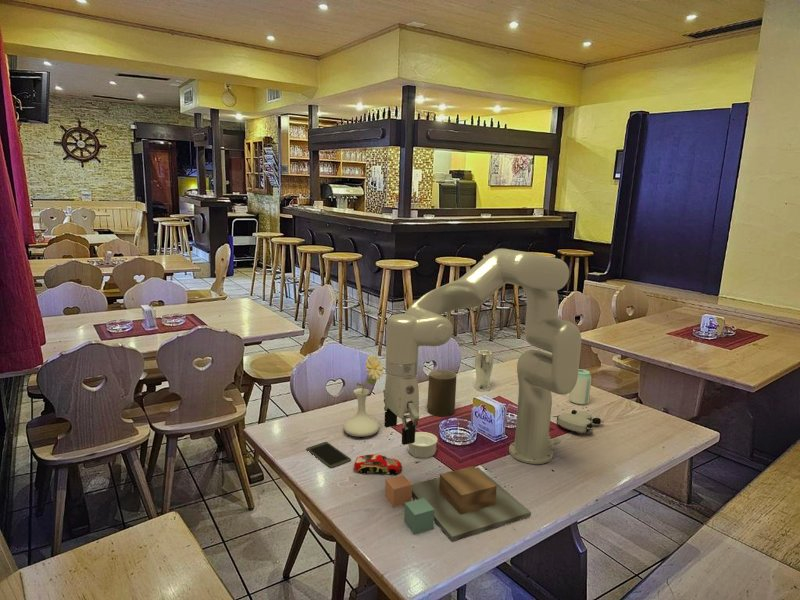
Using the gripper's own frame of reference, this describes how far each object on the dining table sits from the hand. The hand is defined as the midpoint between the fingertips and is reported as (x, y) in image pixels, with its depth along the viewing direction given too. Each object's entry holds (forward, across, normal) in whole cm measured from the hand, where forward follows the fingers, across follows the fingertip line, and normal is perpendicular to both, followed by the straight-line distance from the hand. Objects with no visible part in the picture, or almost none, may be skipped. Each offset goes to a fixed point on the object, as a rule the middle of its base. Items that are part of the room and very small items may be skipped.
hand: (399, 434), depth 124 cm
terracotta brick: (+18, 0, 0) cm, 18 cm away
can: (+17, +29, -89) cm, 95 cm away
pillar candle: (+17, +42, -37) cm, 59 cm away
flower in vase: (+18, +38, -6) cm, 42 cm away
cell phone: (+18, +28, +9) cm, 34 cm away
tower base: (+17, -8, -15) cm, 25 cm away
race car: (+18, +15, -1) cm, 23 cm away
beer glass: (+17, +54, -63) cm, 85 cm away
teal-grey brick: (+18, -11, 0) cm, 21 cm away
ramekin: (+18, +19, -17) cm, 31 cm away
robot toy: (+17, +13, -73) cm, 76 cm away
